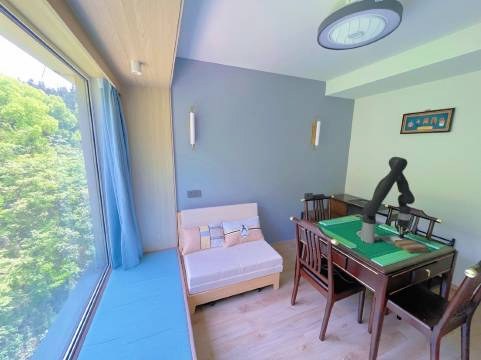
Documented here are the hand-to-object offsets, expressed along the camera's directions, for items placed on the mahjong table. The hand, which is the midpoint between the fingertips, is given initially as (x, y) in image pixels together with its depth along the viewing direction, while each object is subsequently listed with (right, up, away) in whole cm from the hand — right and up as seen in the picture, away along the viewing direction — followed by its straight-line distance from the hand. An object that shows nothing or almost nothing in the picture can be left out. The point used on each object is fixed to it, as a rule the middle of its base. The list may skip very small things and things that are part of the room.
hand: (401, 238), depth 159 cm
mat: (0, -4, +8) cm, 9 cm away
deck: (+1, -6, -7) cm, 10 cm away
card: (0, -4, +4) cm, 6 cm away
